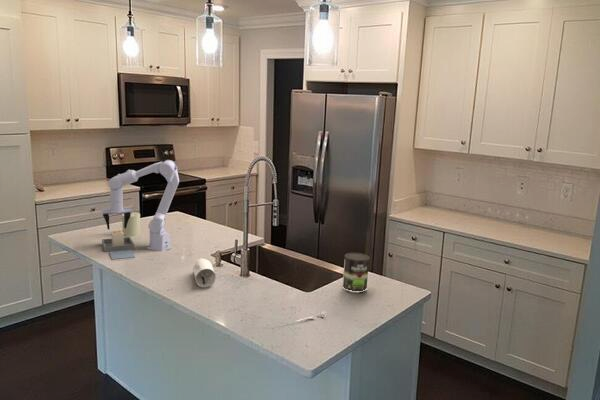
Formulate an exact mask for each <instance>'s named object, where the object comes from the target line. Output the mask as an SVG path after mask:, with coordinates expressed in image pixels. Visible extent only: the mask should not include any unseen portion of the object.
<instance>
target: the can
mask: <svg viewBox="0 0 600 400" xmlns="http://www.w3.org/2000/svg"><path fill="white" fill-rule="evenodd" d="M121 220H122V231H123V233H124V237H138V236H140V235H141V213H139V212H134V211H133V214H131V216H130V218H129V220H128V223H127V227H126V228H124V214H121Z"/></svg>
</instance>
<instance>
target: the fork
mask: <svg viewBox="0 0 600 400" xmlns="http://www.w3.org/2000/svg"><path fill="white" fill-rule="evenodd" d="M320 313H321V314H323V315H325V317H326V316H327V315H328V314H329V313H328V312H327V311H326V310H322V312H320ZM312 317H313V316H308V317H304V318H301V319H298V320H296V321H301V320H305V319H309V318H312Z"/></svg>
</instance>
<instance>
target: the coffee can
mask: <svg viewBox="0 0 600 400" xmlns="http://www.w3.org/2000/svg"><path fill="white" fill-rule="evenodd" d="M343 263H344V264H343V276H342V286H343V287H344V288H345V289H348V290H352V291H363V290H365V289H366V288H367V287H368V278H369V277H368V275H369V268H370V267H369V266H370V256H369V255H367V254H365V253H361V252H347V253H345V254H344V262H343Z"/></svg>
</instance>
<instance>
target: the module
mask: <svg viewBox="0 0 600 400" xmlns="http://www.w3.org/2000/svg"><path fill="white" fill-rule="evenodd" d="M124 237H125V236H124V233H123V230H116V231H111V238H112V246H119V245H124Z"/></svg>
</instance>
